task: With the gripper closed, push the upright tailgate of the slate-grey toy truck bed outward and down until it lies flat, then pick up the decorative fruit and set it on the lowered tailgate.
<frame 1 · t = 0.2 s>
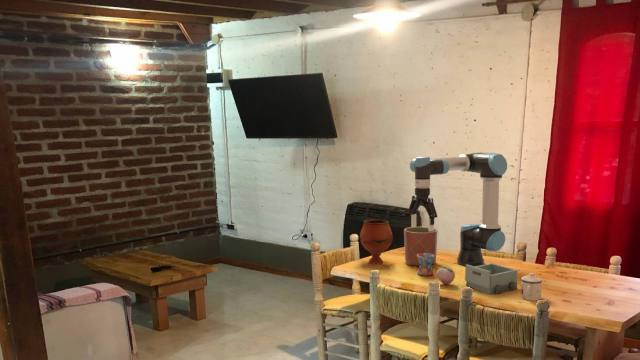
hand: (422, 229, 265), 28 cm above the table, fingers open, 13 cm apart
truck bed: (491, 286, 259), on the table
teacup with lid: (530, 299, 240), on the table
mug: (426, 274, 283), on the table
goblet: (376, 262, 308), on the table
planter: (420, 263, 306), on the table
tailgate: (477, 276, 253), point 7 cm above the table, hinge at -2.5°
decorative fruit: (445, 284, 264), on the table
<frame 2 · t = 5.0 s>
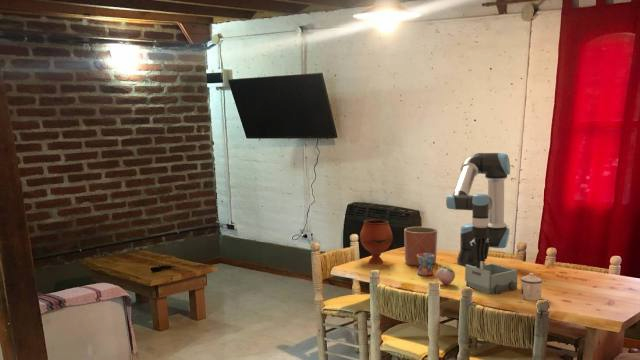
hand: (479, 274, 254), 8 cm above the table, fingers closed
tailgate: (477, 276, 253), point 7 cm above the table, hinge at -1.1°, touching gripper
everything else where it was.
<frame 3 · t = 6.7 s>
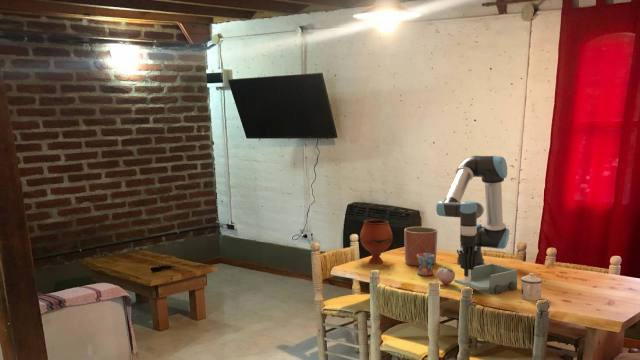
hand: (467, 282, 250), 5 cm above the table, fingers closed
tailgate: (471, 284, 251), point 3 cm above the table, hinge at 81.8°, touching gripper
everything else where it was.
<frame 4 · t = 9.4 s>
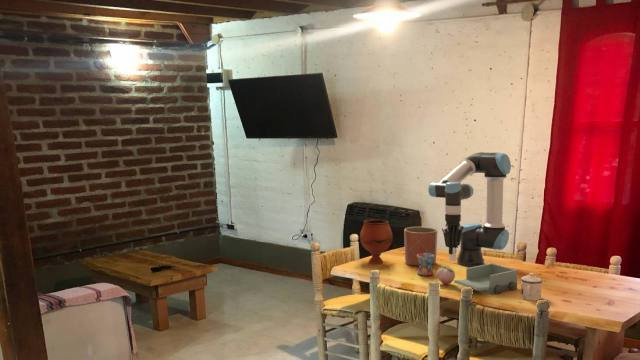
hand: (452, 260, 259), 13 cm above the table, fingers closed
tailgate: (471, 285, 251), point 3 cm above the table, hinge at 83.8°
everything else where it was.
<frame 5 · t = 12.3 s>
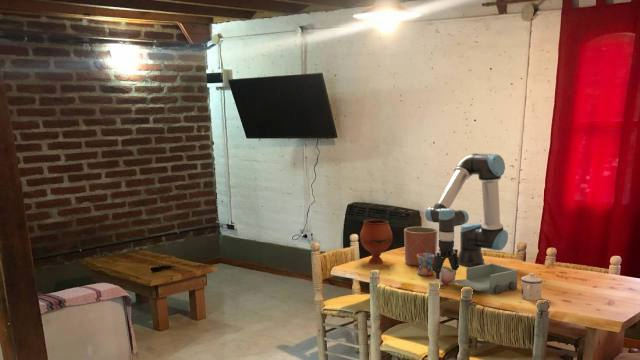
hand: (445, 283, 264), 0 cm above the table, fingers closed on decorative fruit, 8 cm apart
decorative fruit: (445, 284, 264), on the table, touching gripper
everything else where it was.
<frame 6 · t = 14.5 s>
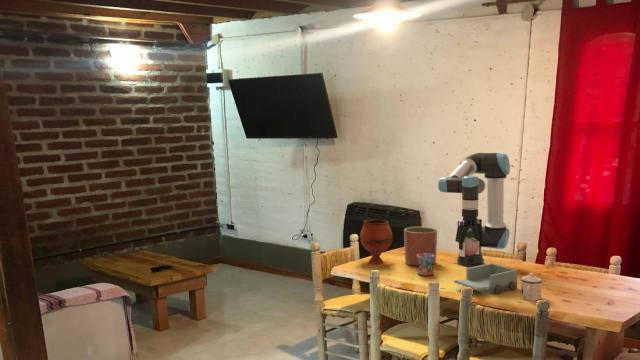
hand: (469, 255, 251), 18 cm above the table, fingers closed on decorative fruit, 8 cm apart
decorative fruit: (469, 256, 251), point 17 cm above the table, touching gripper
everything else where it was.
when the fingers open (6 cm above the table, at t = 17.2 s): decorative fruit drops 1 cm, resting on tailgate.
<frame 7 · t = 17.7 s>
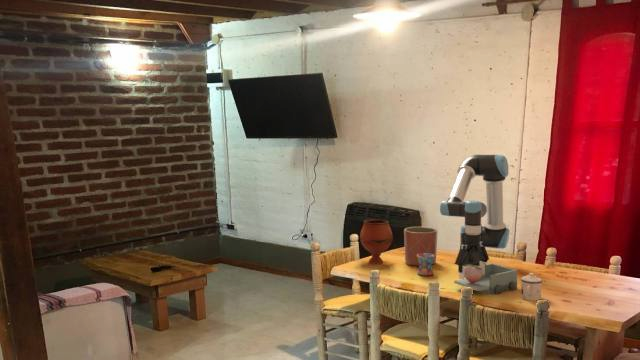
hand: (471, 276, 251), 7 cm above the table, fingers open, 13 cm apart
tailgate: (471, 285, 251), point 3 cm above the table, hinge at 85.6°, touching decorative fruit
decorative fruit: (472, 283, 252), point 4 cm above the table, touching tailgate
everything else where it was.
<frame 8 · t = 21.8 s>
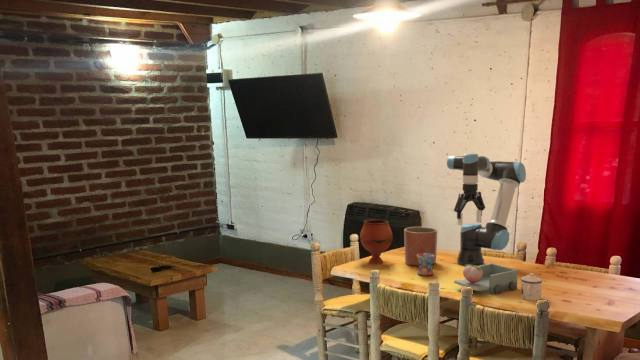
hand: (469, 223, 273), 29 cm above the table, fingers open, 13 cm apart
nothing on the table moved.
at the end: tailgate at +86° (first picture: -2°); decorative fruit inside the target area on the truck bed (8.0 cm from its centre), point 3.6 cm above the truck bed's base; the gripper is holding nothing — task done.
